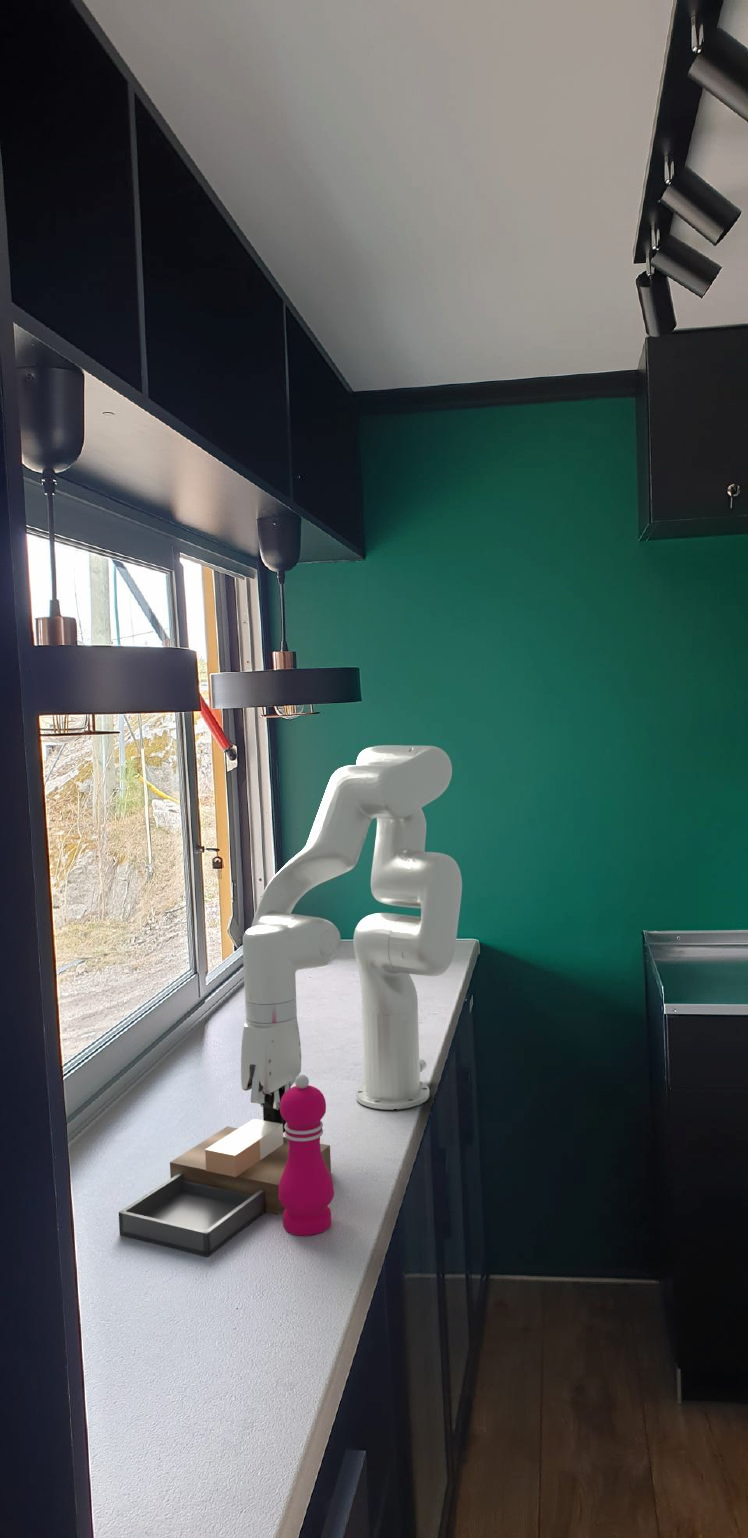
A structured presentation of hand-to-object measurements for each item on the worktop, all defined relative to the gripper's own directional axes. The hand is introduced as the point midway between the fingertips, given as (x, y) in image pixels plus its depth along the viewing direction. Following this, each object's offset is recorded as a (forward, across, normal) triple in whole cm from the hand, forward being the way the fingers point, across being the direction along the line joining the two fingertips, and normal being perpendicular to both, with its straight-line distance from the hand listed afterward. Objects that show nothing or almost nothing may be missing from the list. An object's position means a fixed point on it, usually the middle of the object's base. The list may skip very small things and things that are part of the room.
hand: (275, 1131), depth 165 cm
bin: (+5, +20, 0) cm, 21 cm away
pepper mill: (+5, +15, +14) cm, 21 cm away
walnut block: (+5, +7, 0) cm, 8 cm away
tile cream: (+1, +5, 0) cm, 5 cm away
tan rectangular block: (+1, +11, 0) cm, 11 cm away
